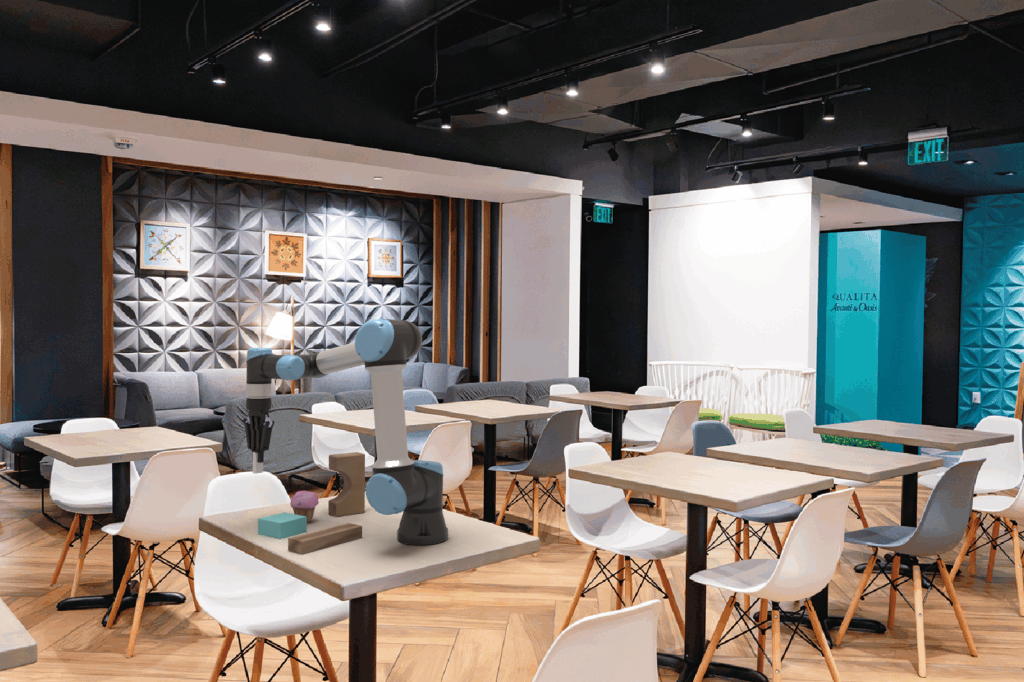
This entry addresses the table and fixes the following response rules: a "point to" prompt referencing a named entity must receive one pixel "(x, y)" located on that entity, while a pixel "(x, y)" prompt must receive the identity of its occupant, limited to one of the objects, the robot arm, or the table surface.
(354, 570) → the table surface
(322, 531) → the walnut board
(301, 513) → the cupcake
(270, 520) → the teal block
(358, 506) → the decorative block
